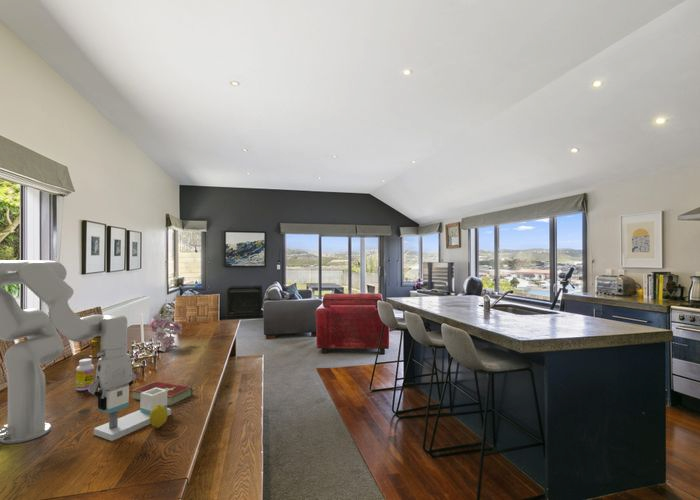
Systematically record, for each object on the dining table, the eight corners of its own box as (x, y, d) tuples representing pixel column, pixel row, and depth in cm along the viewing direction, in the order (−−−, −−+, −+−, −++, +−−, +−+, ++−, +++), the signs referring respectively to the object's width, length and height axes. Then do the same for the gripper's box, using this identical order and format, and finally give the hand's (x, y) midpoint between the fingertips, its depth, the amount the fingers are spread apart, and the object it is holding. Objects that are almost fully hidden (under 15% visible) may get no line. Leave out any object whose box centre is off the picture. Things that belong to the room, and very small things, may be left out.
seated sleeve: (151, 415, 133) (151, 395, 133) (140, 411, 135) (140, 392, 136) (167, 408, 138) (167, 390, 139) (155, 405, 141) (156, 387, 141)
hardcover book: (155, 389, 164) (155, 380, 164) (192, 395, 157) (192, 386, 157) (131, 399, 153) (131, 389, 153) (170, 406, 146) (170, 396, 146)
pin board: (111, 441, 118) (112, 419, 118) (93, 434, 122) (93, 413, 123) (171, 414, 138) (171, 395, 138) (153, 409, 142) (153, 391, 142)
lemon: (163, 422, 131) (163, 400, 131) (170, 427, 128) (170, 404, 128) (146, 428, 127) (147, 405, 127) (153, 433, 123) (153, 409, 123)
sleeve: (97, 409, 122) (98, 388, 122) (117, 402, 128) (117, 382, 128) (109, 413, 119) (110, 392, 119) (128, 406, 125) (129, 386, 125)
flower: (194, 346, 233) (188, 309, 241) (161, 350, 214) (154, 310, 222) (176, 355, 242) (170, 320, 250) (142, 360, 223) (137, 321, 231)
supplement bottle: (84, 391, 160) (84, 362, 160) (71, 390, 161) (72, 361, 161) (97, 386, 167) (97, 358, 167) (85, 385, 168) (85, 357, 168)
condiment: (87, 356, 215) (87, 336, 215) (101, 352, 223) (101, 333, 223) (96, 357, 212) (96, 337, 212) (110, 353, 220) (110, 334, 220)
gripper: (93, 360, 114) (92, 417, 114) (145, 347, 130) (144, 398, 130) (79, 357, 118) (78, 413, 117) (131, 345, 133) (131, 394, 133)
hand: (113, 404), depth 124 cm, fingers closed on sleeve, 6 cm apart
